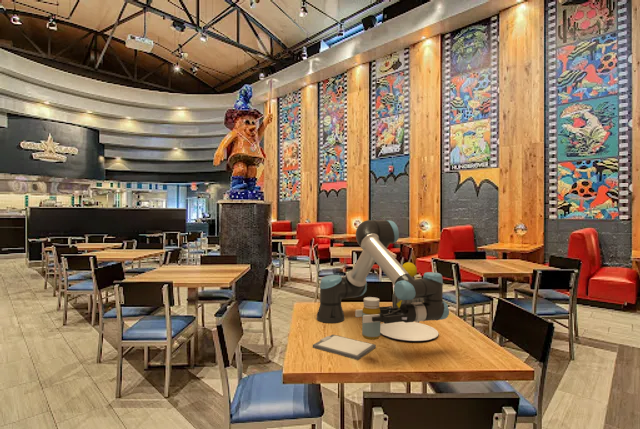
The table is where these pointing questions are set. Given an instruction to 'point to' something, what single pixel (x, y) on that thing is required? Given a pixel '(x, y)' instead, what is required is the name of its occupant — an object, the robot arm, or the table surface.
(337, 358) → the table surface
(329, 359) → the table surface
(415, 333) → the plate
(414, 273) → the decorative lamp
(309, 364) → the table surface
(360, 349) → the clipboard
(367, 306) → the bottle
